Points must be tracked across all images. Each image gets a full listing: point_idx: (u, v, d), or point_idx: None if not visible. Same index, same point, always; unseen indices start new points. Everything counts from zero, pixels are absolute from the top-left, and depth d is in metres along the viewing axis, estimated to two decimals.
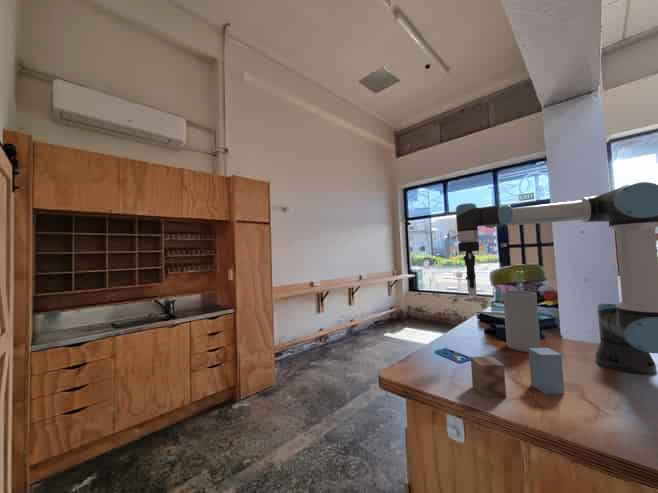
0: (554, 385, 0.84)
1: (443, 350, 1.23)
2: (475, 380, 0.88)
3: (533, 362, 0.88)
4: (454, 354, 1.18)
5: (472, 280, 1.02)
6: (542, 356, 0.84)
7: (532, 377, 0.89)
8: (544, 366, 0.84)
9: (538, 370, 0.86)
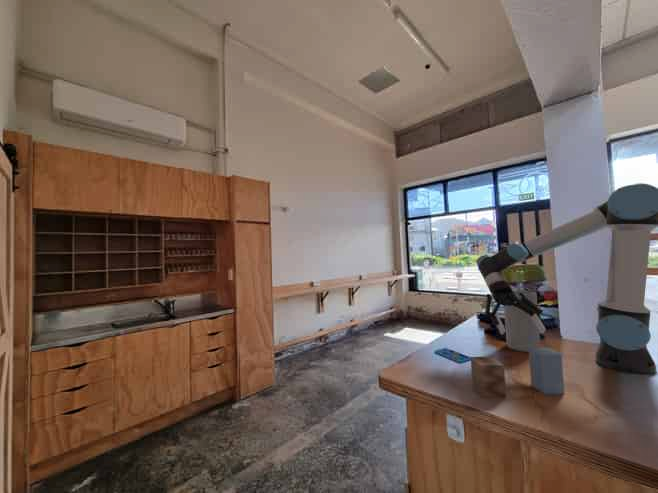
0: (554, 385, 0.84)
1: (443, 350, 1.23)
2: (475, 380, 0.88)
3: (533, 362, 0.88)
4: (454, 354, 1.18)
5: (492, 317, 1.03)
6: (542, 356, 0.84)
7: (532, 377, 0.89)
8: (544, 366, 0.84)
9: (538, 370, 0.86)
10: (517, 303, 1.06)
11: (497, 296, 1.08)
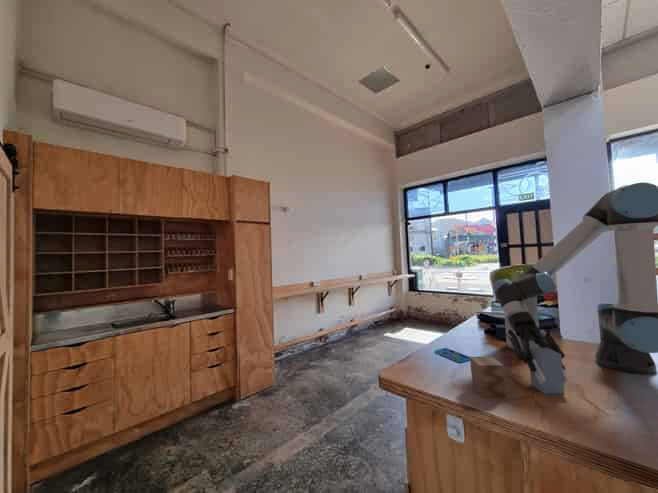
0: (554, 385, 0.84)
1: (443, 350, 1.23)
2: (475, 380, 0.88)
3: None
4: (454, 354, 1.18)
5: (527, 361, 0.88)
6: (542, 356, 0.84)
7: (532, 377, 0.89)
8: (544, 366, 0.84)
9: None
10: (538, 340, 0.92)
11: (519, 330, 0.95)
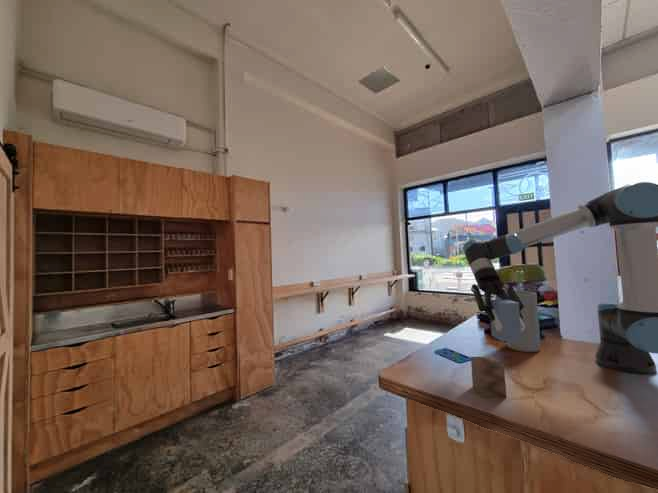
0: (511, 332, 0.86)
1: (443, 350, 1.23)
2: (475, 380, 0.88)
3: None
4: (454, 354, 1.18)
5: (487, 311, 0.90)
6: (500, 305, 0.86)
7: (492, 327, 0.91)
8: (501, 314, 0.86)
9: None
10: (500, 293, 0.94)
11: (483, 284, 0.97)
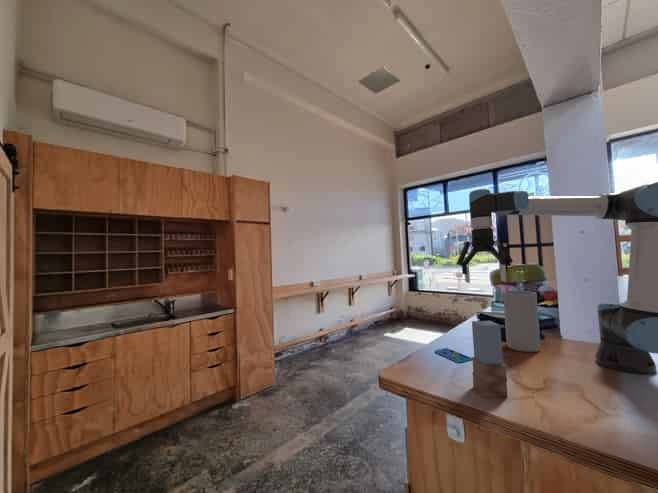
0: (493, 355, 0.84)
1: (443, 350, 1.23)
2: (476, 380, 0.88)
3: (475, 334, 0.88)
4: (454, 354, 1.18)
5: (462, 267, 1.08)
6: (481, 328, 0.85)
7: (475, 350, 0.89)
8: (483, 337, 0.84)
9: (478, 341, 0.86)
10: (492, 251, 1.07)
11: (475, 244, 1.07)
